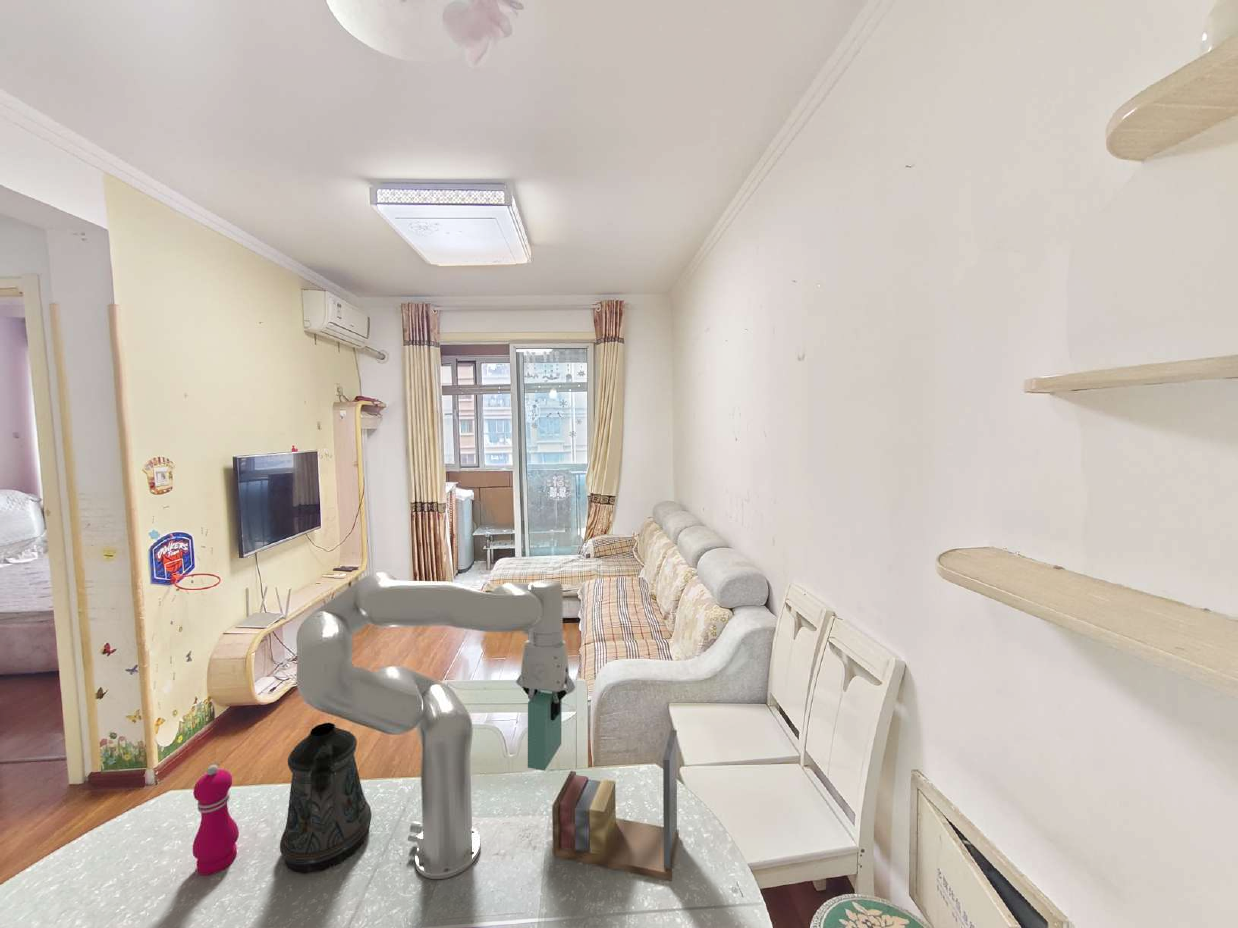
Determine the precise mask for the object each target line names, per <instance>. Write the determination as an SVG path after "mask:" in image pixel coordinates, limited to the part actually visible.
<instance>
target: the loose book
mask: <svg viewBox="0 0 1238 928" xmlns="http://www.w3.org/2000/svg"><path fill="white" fill-rule="evenodd" d="M562 699H563V698H562ZM562 699H561V704H560V714H559V715H558V716H557V717H556V719H555V720H554V721H553V720H551V703H552V702H553V696H552V692H550V691H543V690H538V691H537V693H536V694H535V695H534V696H533V697H532V698H531V700H530V699H529V700H528V702H527V768H528V769H534V770H540V771H544V772H545V771H546V769H547V767H548V766H549V765H550V763H551V762H552V759H553V758H554V757H555V755H556V753H557V752H558V750H559V749H560V748H561V745H562V715H563V714H562V711H563V710H562V707H563V706H562V703H563V702H562Z"/></svg>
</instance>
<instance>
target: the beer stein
mask: <svg viewBox="0 0 1238 928" xmlns="http://www.w3.org/2000/svg"><path fill="white" fill-rule="evenodd" d="M357 745H358V740H357V738H356V736H355V735H354V734H353V733H352V732H350V731H349V730H345V729H343V728H339V727H337V726H336V725H335V723H332V722H323V723H321V724H318V725H316V726H314V727H313V728H311V731H310V732H309V734H308V735H307V736H306V737H305V738H304V739H302V740H301V741H300V742H298V743H297V744H296V746H295V747H294V748H293V749H292V750H291V752H290V753H289V755H288V757H287V766H288V769H289V771H290V772H291V774H292V775H291V782H290V788H289V789H290V790H289V798H288V808H287V818H286V824H285V828H284V831H283V833H282V836H281V838H280V842H279V852H280V853H281V856H282V859H283V862H284V866H285V867H286V868H287V869H288V870H290V872H293V873H297V874H302V875H307V874H312V873H318V872H323V871H326V870H328V869H331V868H333V867H336V866H338V865H340V864H342V863H343V862H344V861H346V860H347V859H348V858H351V857H352V856H353V855H355V853H356V852H357V851H358V850H360V848H361V847H362V846H363V845H364V844H365V842H366V839H367V837H368V836H369V832H370V826H371V821H372V810H371V807H370V804H369V802H368V800H367V799H366V796H365V794H364V790H363V787H362V784H361V778H360V774H359V770H358V766H357V763H356V757H355V753H356V750H357Z"/></svg>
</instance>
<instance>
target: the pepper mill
mask: <svg viewBox="0 0 1238 928" xmlns="http://www.w3.org/2000/svg"><path fill="white" fill-rule="evenodd" d="M232 784H233V777H232V774H231V772H229V771H228V770H225V769H221V768H220V769H219V767H218V765H216V764H212V765H210V766H209V767H208V768H207V769H206V773H205V774H204V775H202V776H200V778H199V779H198V780H197V781H196V783H195V785H194V787H193V792H192V793H193V798H194V799H195V800H196V801H197V804H196V805H197V811H198V813H200V815H201V817H200V825H199V828H198V830H197V833H196V834H195V837H194V840H193V843H192V856H193V857H194V858H195V859H196V872H197V873H198V875H200V876H201V875H202V876H209V875H213V874H215V873H218V872H220V871H222V870H224V869H226V868H227V867H228V866H230V865H231V864H232V863H233V862H234V860H235V859H236V858H237V855H238V854H237V853H238V849H237V844H236V843H237V841H238V839H239V836H240V831H239V827H238V825H237V823H236V821H235V820H234V819H233V818H232V816H231V815H230V813H229V812H230V811H229V809H228V808H229V807H228V803H229V801H230V799H231V796H230V795H231V792H230V789H231V788H232V787H231V786H232Z"/></svg>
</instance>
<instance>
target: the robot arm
mask: <svg viewBox="0 0 1238 928" xmlns="http://www.w3.org/2000/svg"><path fill="white" fill-rule="evenodd" d="M563 589H564V588H563V585H562V583H561V582H559V580H555V579H548V578H547V579H539V580H536V581H535V580H534V581H533V582H507V583H502V584H500V585H499V586H497V587H496V588H495V589H494V590H493V592H491V593H490V592H485V591H482V590H477V589H474V588H471V587H469V586H466V585H464V584H461V583H457V582H454V581H445V580H444V581H443V580H442V581H440V580H439V581H433V580H432V581H431V580H429V581H428V580H399V579H397V578H396V577H395V576H394V575H392V574H390V573H388V572H383V571H381V572H377V571H376V572H374V573H373V572H372V573H370V574H368V575H366V576H364V577H362V578H361V579H359V580H358V581H356V582H354V583H353V584H352V585H350V586H349V587H347V588H346V589H344V590H343V591H342V592H340V593H339V594H337V595H336V596H334V597H333V598H332V599H330V600H329V601H327V602H326V603H324V604H323V605H321V606H320V607H318V608H317V609H316V610H314V611H312V613H310V614H309V615H308V616H307V617H306V618H305V619H304V620H303V621H302V622H301V623H300V625H299V627H298V629H297V633H296V638H295V640H296V657H297V658H296V688H297V690H298V694H299V695H300V697H301V699H302V701H304V702H305V703H306V705H308V706H309V707H310V708H313V709H314V710H317V711H320V712H321V713H325V714H327V715H332V716H335V717H338V718H340V719H343V720H346V721H349V722H351V723H354V724H357V725H360V726H363V727H366V728H369V729H371V730H375V731H378V732H381V733H383V734H387V735H392V736H399V735H403V734H407V733H409V732H411V731H413V729H416V732H417V735H418V736H419V737H418V738H419V739H420V743H421V761H420V762H421V763H420V788H421V789H420V790H421V793H420V794H421V821H417V820H416V821H415V820H414V821H412V823H411V824H410V827H409V832H410V833H409V834H408V836H407V842H412V843H416V844H417V849H416V851H415V855H414V864H415V865H414V866H415V867H416V868H415V869H416V870H417V872H418V873H419V874H420V875H421V876H423V877H425V878H428V879H432V880H442V879H443V880H444V879H448V878H451V877H454V876H457V875H458V874H460V873H462V872H464V871H466V869H468V868H469V867H470V866H471V865H472V864H473V863H474V862H475V861H476V859H477V858H478V855H479V853H480V850H481V838H480V837H481V836H480V834H479V832H478V831H477V830H476V829H475V828H473V814H472V809H473V806H472V775H471V774H472V773H471V756H472V755H471V751H472V742H473V738H474V737H473V734H474V730H473V729H474V726H473V722H472V718H471V715H470V713H469V711H468V710H467V709H468V708H466V706H465V705H464V704H463V702H462V700H461V699H459V697H458V695H457V694H456V693H455V691H454V690H453V689H452V688H451V687H450V686H449V685H448V684H445V683H443V682H442V681H440V680H437V679H435V678H432V677H429V676H427V675H425V674H423V673H421V672H418V671H415V670H413V669H410V668H408V667H404V666H400V665H388V666H385V667H382V668H380V669H378V670H376V671H372V670H370V669H366V668H363V667H357V666H355V665H353V662H352V661H353V660H352V658H353V652H354V651H353V650H354V642H353V638H352V636H354V635H355V634H356V633H357V632H359V631H360V630H362V629H363V628H364V627H366V626H367V625H371V626H374V627H378V628H401V627H402V628H403V627H404V628H406V627H440V626H441V627H451V628H457V629H462V630H471V631H478V632H487V633H511V632H513V633H514V632H515V633H517V632H522V633H523V634H522V635H524V636H527V640H526V641H525V642H524V647H523V652H522V659H521V668H520V674H519V676H518V678H517V679H516V680H515V681H516V685H518V686H519V687H520V688H521V689H523V691H524V693H526V695H527V698H528V700H529V701H530V700H531V698H532V697H533V696H534V695H535V694H536V693H537V691H538V690H543V691H550V692H552V696H553V702H552V703H551V720H553V721H554V720H555V719H556V717H557V716H558V715H559V714H560V704H561V699H563V698H564V697H566V696H567V695H569V694H571V693H572V692H574V690H575V689H576V686H575V684H574V681H572V678H571V676H570V675H569V674H570V673H569V671H570V670H569V669H570V668H569V657H568V650H567V644H566V641H565V640H563V626H564V625H563V619H564V617H563V616H564V615H563V612H564V610H563V602H564V601H563V599H564V596H563V595H564V594H563V591H564V590H563Z"/></svg>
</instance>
